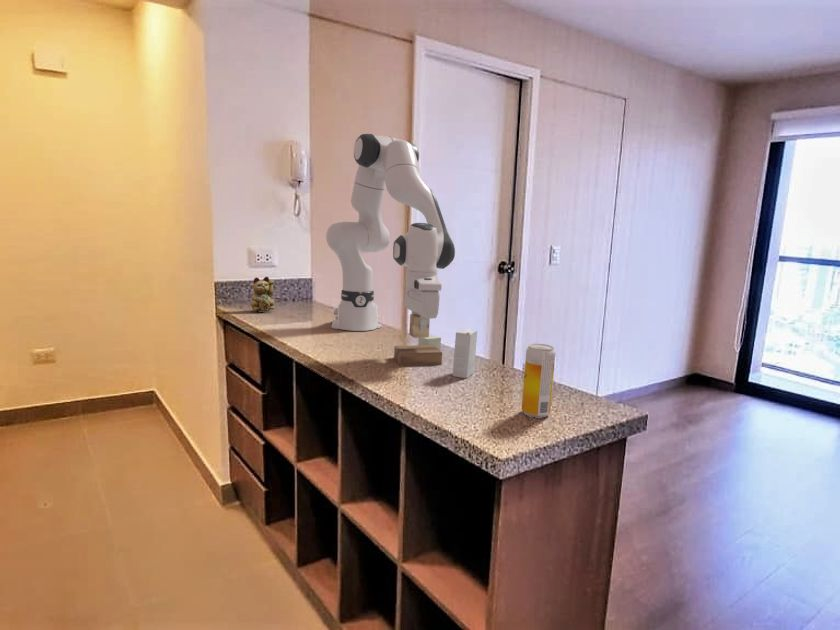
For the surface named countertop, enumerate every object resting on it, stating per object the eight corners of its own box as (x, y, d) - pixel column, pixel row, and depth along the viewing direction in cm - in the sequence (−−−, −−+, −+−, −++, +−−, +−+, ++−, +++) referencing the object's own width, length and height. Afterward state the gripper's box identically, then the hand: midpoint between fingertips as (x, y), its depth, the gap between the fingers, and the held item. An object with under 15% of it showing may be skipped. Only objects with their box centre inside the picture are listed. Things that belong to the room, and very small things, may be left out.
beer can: (537, 407, 120) (542, 342, 118) (555, 416, 115) (562, 348, 112) (515, 411, 117) (520, 344, 115) (533, 420, 112) (539, 350, 110)
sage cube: (418, 351, 169) (418, 335, 168) (431, 349, 171) (431, 334, 170) (426, 355, 165) (427, 339, 164) (440, 353, 167) (441, 337, 166)
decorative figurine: (255, 314, 220) (254, 277, 217) (246, 311, 226) (246, 275, 224) (277, 312, 226) (277, 276, 224) (268, 309, 232) (268, 274, 230)
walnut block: (393, 358, 159) (394, 345, 159) (432, 358, 162) (433, 345, 162) (400, 367, 151) (401, 353, 150) (441, 365, 154) (442, 352, 153)
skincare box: (459, 371, 148) (462, 328, 146) (475, 373, 146) (477, 329, 144) (451, 376, 142) (454, 331, 140) (467, 379, 140) (470, 333, 138)
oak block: (409, 334, 156) (410, 314, 155) (423, 334, 158) (424, 314, 157) (413, 337, 152) (414, 316, 151) (428, 337, 154) (429, 316, 153)
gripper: (400, 277, 161) (399, 322, 163) (421, 285, 142) (419, 336, 144) (420, 277, 163) (418, 322, 165) (444, 285, 144) (441, 335, 146)
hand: (419, 328), depth 155 cm, fingers closed on oak block, 4 cm apart
